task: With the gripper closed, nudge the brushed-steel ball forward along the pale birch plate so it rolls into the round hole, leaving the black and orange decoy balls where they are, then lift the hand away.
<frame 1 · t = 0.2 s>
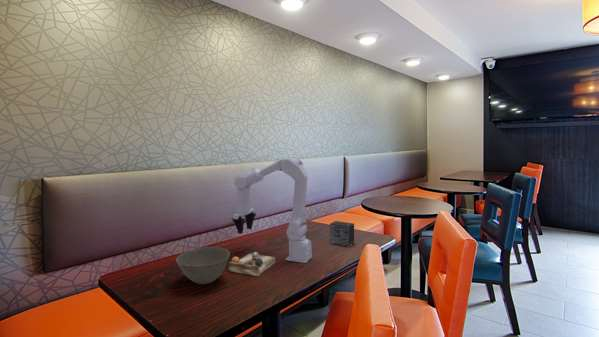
hand: (244, 230, 146), 10 cm above the table, tool pointing down, fingers open, 7 cm apart
steel ball: (255, 255, 132), point 4 cm above the table, touching bearing plate
small box: (342, 244, 156), on the table
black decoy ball: (258, 262, 125), point 3 cm above the table, touching bearing plate
bearing plate: (253, 266, 130), on the table
bowl: (204, 282, 116), on the table
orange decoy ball: (235, 260, 127), point 3 cm above the table, touching bearing plate
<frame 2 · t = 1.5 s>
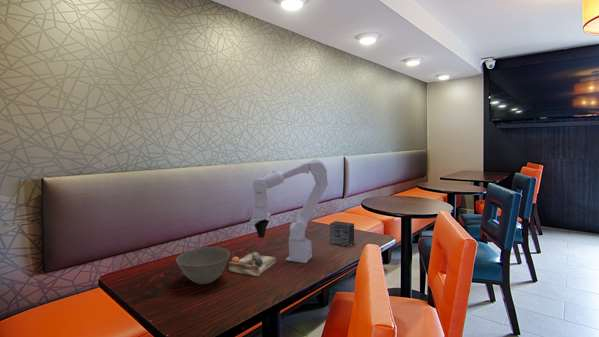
hand: (261, 237, 136), 10 cm above the table, tool pointing down, fingers closed
nothing on the table moved.
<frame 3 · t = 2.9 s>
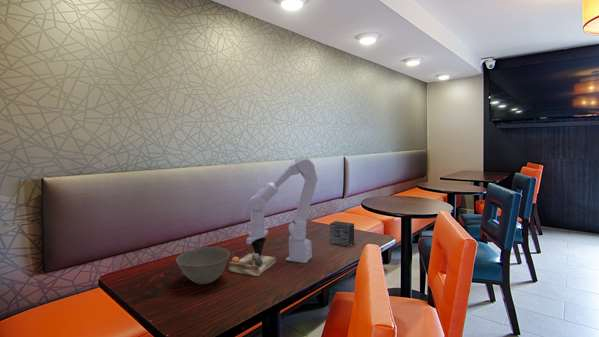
hand: (258, 255, 134), 3 cm above the table, tool pointing down, fingers closed, pressing on steel ball
steel ball: (255, 255, 132), point 4 cm above the table, touching bearing plate, gripper
everything else where it was.
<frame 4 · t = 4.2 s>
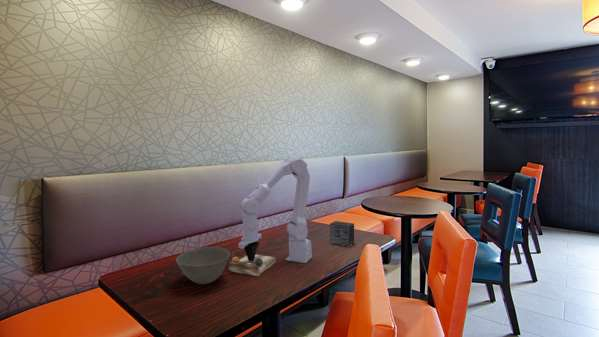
hand: (251, 260, 129), 3 cm above the table, tool pointing down, fingers closed
steel ball: (249, 265, 126), point 2 cm above the table, tilted 123°
everything else where it was.
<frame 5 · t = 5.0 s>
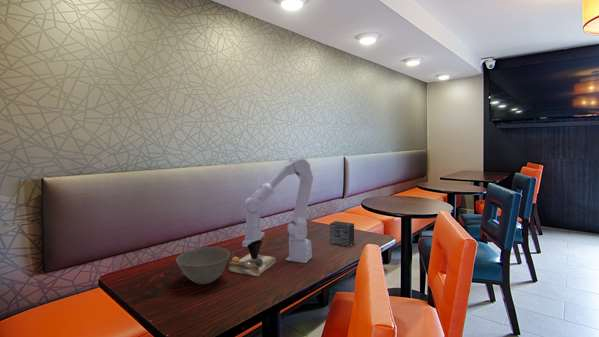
hand: (254, 258, 131), 3 cm above the table, tool pointing down, fingers closed
nothing on the table moved.
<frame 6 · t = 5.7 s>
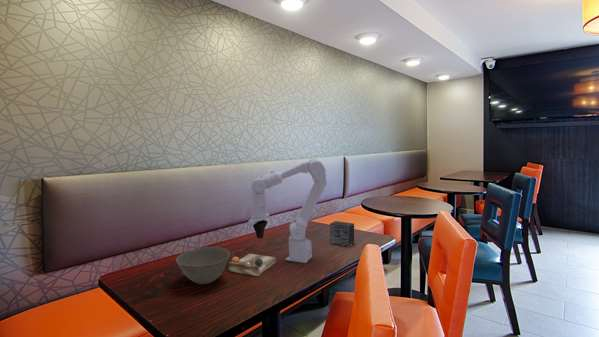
hand: (259, 237, 135), 10 cm above the table, tool pointing down, fingers closed
nothing on the table moved.
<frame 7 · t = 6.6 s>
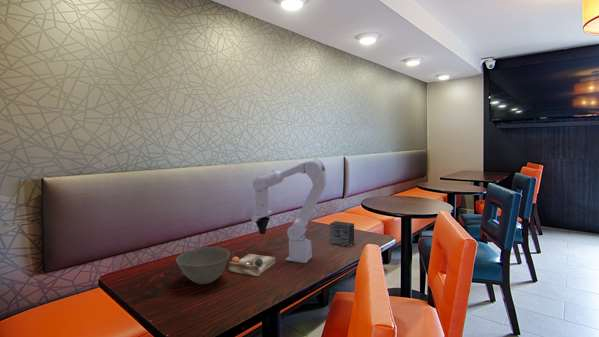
hand: (262, 233, 141), 10 cm above the table, tool pointing down, fingers closed
steel ball: (247, 265, 126), point 2 cm above the table, tilted 109°
everything else where it was.
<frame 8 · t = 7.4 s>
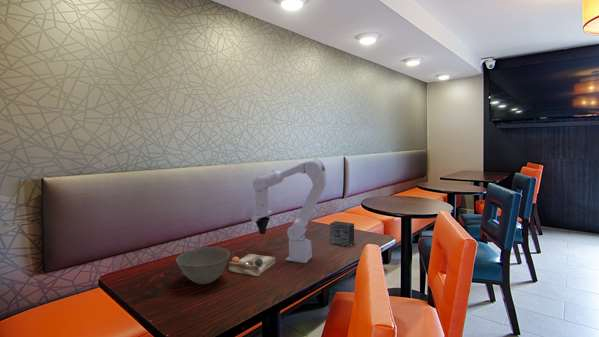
hand: (262, 233, 141), 10 cm above the table, tool pointing down, fingers closed
steel ball: (246, 265, 126), point 2 cm above the table, tilted 103°
everything else where it was.
at the end: steel ball 0.4 cm from the target spot in the bearing plate, point 1.6 cm above the bearing plate's base; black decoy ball moved 0.1 cm from its start; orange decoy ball moved 0.1 cm from its start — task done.
